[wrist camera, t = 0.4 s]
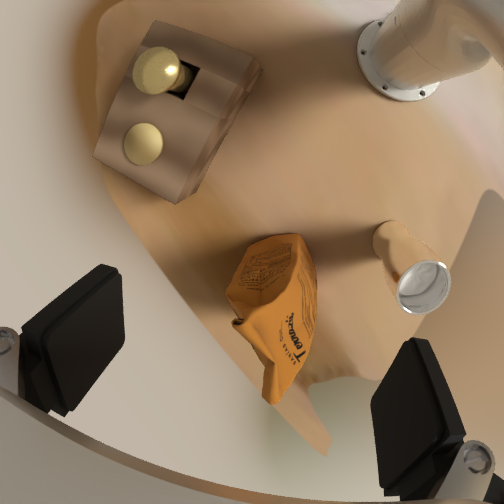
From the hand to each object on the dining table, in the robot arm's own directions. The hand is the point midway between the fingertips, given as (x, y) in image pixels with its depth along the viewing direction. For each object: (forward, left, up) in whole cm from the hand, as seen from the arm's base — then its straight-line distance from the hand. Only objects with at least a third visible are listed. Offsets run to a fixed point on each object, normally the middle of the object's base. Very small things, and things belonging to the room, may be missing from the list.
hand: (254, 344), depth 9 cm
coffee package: (+13, +6, -35) cm, 38 cm away
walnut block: (-1, -18, -35) cm, 40 cm away
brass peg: (-5, -18, -29) cm, 35 cm away
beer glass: (0, +17, -35) cm, 39 cm away
